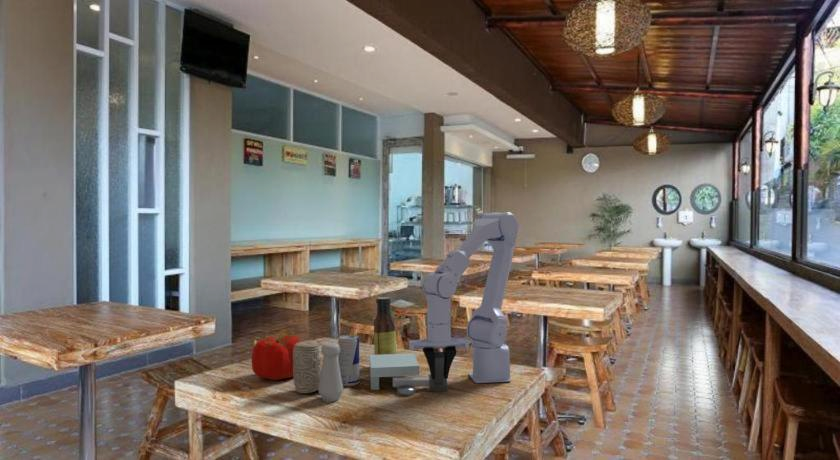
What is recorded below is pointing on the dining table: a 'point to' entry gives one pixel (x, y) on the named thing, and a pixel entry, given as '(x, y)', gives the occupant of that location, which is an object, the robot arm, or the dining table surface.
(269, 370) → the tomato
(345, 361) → the energy drink
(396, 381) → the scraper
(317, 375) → the carving
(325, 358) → the salt shaker
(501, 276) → the robot arm
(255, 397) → the dining table surface
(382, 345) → the sauce bottle
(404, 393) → the token
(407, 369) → the pale grey angled bracket
